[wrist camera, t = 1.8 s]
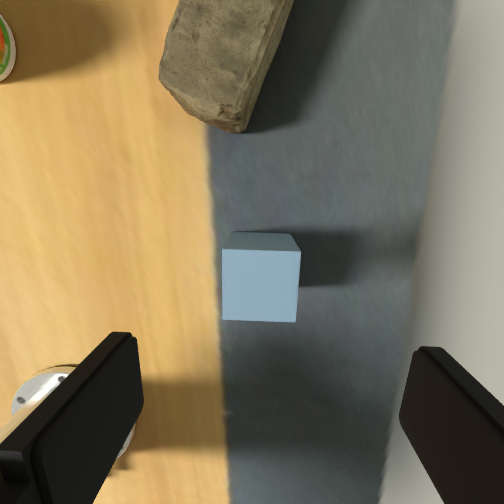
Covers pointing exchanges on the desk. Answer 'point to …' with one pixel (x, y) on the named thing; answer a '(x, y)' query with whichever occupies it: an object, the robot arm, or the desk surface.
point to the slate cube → (260, 277)
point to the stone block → (221, 56)
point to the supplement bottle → (6, 49)
